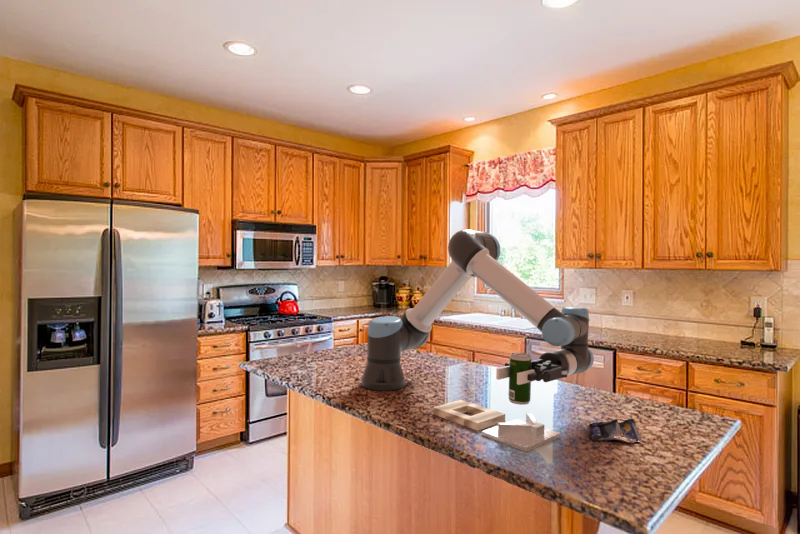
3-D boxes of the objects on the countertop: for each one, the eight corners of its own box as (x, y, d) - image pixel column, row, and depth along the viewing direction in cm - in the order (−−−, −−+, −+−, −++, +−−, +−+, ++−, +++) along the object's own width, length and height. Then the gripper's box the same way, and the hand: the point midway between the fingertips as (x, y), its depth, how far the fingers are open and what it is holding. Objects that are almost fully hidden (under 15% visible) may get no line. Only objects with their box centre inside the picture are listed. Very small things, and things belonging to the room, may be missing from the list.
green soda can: (520, 406, 112) (521, 357, 112) (503, 400, 116) (505, 353, 116) (534, 403, 115) (536, 355, 115) (518, 397, 119) (519, 351, 119)
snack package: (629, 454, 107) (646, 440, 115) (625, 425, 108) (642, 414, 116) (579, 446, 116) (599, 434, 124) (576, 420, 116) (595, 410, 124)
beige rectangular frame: (432, 414, 130) (433, 407, 130) (460, 406, 138) (460, 399, 138) (477, 430, 118) (477, 423, 118) (505, 421, 126) (505, 413, 126)
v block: (481, 435, 115) (482, 419, 115) (516, 422, 125) (516, 408, 125) (526, 452, 105) (527, 434, 105) (560, 437, 115) (560, 421, 115)
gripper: (588, 384, 121) (540, 400, 105) (527, 371, 134) (477, 383, 119) (589, 356, 121) (541, 368, 105) (528, 346, 134) (478, 355, 119)
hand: (507, 376), depth 112 cm, fingers closed on green soda can, 5 cm apart
